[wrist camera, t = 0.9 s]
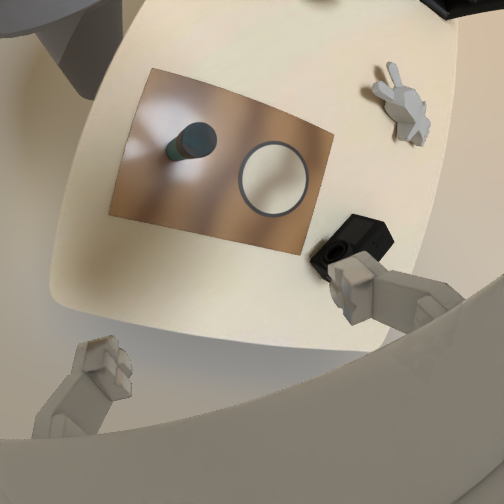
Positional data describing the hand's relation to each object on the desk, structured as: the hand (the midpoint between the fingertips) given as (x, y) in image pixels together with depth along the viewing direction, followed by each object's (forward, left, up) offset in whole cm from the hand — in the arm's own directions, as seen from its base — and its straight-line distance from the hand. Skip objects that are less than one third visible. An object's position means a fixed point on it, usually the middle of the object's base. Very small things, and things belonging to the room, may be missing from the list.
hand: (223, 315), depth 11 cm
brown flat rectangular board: (+7, +7, -27) cm, 29 cm away
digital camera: (+26, +1, -27) cm, 38 cm away
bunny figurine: (+31, +26, -27) cm, 49 cm away
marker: (0, +7, -27) cm, 28 cm away
